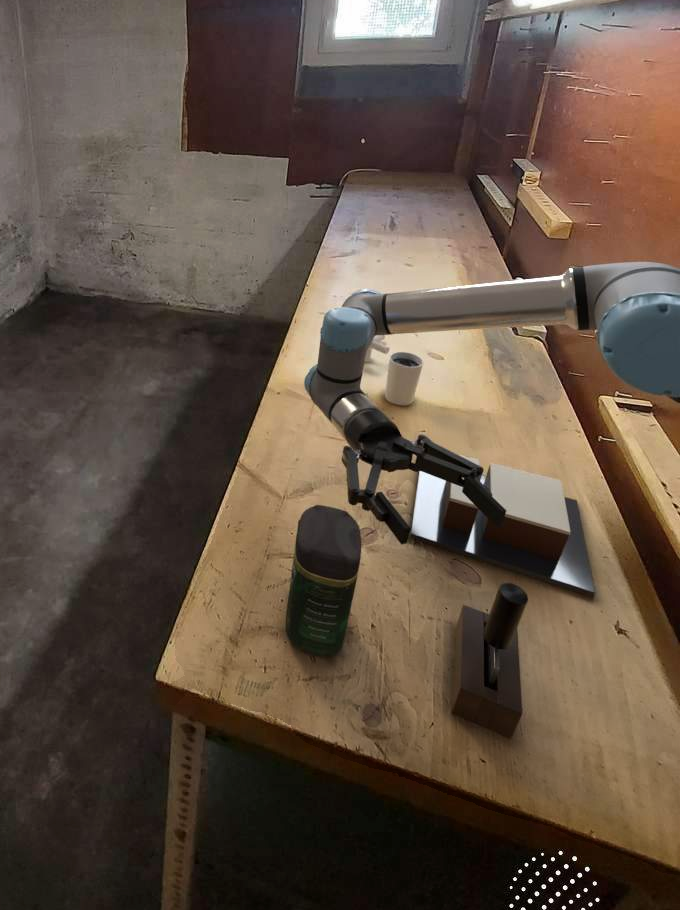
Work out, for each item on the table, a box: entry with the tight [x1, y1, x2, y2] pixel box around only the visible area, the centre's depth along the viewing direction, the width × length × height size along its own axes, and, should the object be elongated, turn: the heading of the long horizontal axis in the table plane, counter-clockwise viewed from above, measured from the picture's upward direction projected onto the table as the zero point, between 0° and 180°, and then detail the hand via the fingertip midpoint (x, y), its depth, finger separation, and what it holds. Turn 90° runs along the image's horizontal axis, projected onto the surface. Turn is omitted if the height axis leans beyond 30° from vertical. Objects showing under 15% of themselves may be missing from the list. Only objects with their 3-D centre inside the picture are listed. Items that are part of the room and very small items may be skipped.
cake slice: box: [443, 453, 481, 534], centre depth 93 cm, size 4×12×6 cm, turn 152°
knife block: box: [451, 604, 524, 739], centre depth 69 cm, size 12×6×5 cm, turn 151°
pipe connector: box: [364, 335, 390, 363], centre depth 137 cm, size 10×10×10 cm
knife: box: [483, 582, 529, 689], centre depth 67 cm, size 8×3×16 cm, turn 151°
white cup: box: [384, 351, 424, 406], centre depth 123 cm, size 7×7×10 cm
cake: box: [482, 462, 571, 561], centre depth 90 cm, size 10×12×6 cm
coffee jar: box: [285, 504, 362, 658], centre depth 73 cm, size 10×8×19 cm
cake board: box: [409, 471, 597, 598], centre depth 92 cm, size 24×20×1 cm
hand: (454, 527), depth 72 cm, fingers open, 13 cm apart
